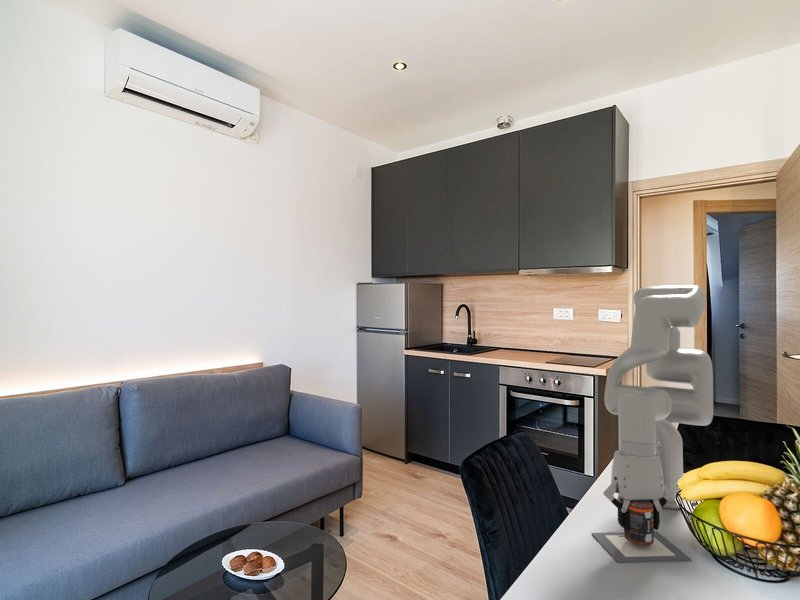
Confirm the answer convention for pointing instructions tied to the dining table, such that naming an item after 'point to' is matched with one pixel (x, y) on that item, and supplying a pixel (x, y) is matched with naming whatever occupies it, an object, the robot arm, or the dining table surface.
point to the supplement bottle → (640, 523)
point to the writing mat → (640, 549)
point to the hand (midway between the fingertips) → (638, 526)
